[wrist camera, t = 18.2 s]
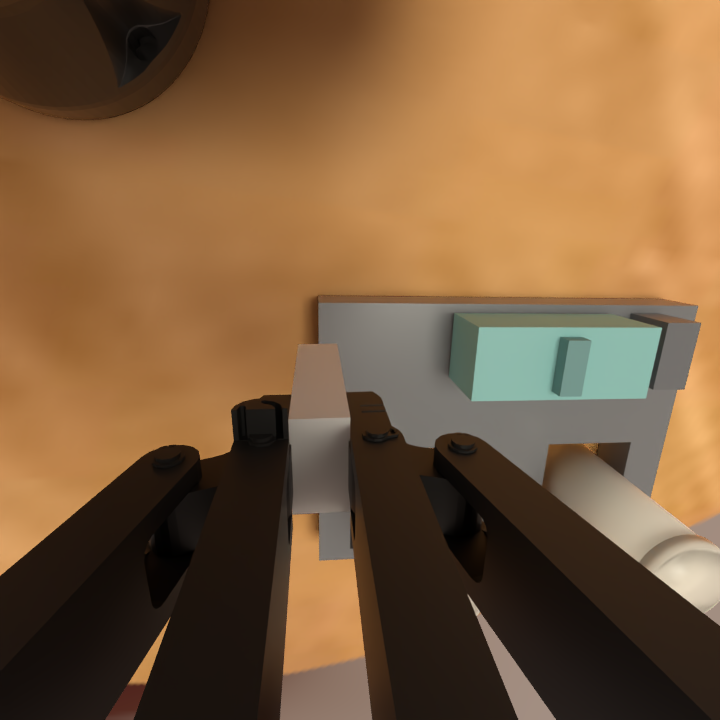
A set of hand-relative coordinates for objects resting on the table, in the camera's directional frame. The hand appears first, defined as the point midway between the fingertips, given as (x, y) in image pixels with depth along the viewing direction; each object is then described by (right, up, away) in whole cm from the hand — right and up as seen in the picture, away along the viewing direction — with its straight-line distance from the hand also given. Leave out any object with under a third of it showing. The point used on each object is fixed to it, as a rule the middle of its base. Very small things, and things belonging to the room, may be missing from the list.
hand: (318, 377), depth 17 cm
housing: (+11, -4, +15) cm, 18 cm away
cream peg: (+17, -7, +16) cm, 25 cm away
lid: (+12, +2, +10) cm, 16 cm away
